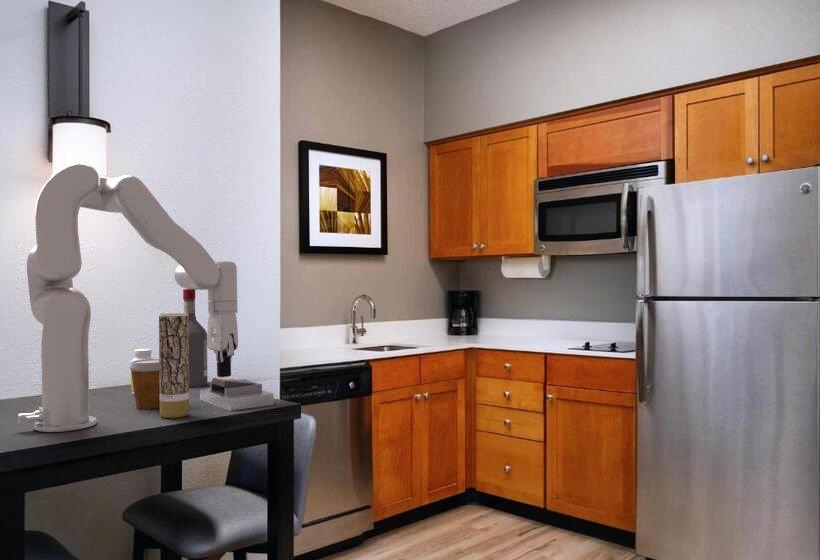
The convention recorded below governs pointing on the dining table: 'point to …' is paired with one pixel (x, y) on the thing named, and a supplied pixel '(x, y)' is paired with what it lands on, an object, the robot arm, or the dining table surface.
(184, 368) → the paper tube
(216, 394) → the breaker panel
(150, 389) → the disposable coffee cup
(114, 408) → the dining table surface
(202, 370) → the liquor
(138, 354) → the supplement bottle
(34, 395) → the dining table surface
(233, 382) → the breaker rocker
